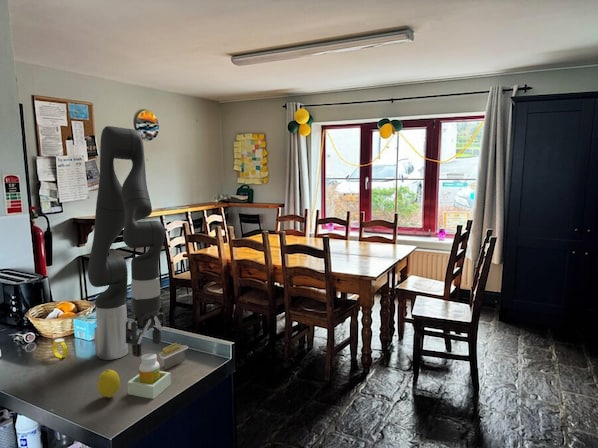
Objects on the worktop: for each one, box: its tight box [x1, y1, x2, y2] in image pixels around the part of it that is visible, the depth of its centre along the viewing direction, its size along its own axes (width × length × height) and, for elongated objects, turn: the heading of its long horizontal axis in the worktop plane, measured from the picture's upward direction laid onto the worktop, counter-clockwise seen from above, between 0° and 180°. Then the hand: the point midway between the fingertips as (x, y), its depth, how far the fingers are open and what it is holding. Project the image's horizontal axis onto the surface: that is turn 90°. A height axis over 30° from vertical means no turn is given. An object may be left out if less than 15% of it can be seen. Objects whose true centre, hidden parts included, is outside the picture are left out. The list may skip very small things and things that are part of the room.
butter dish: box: [158, 342, 189, 371], centre depth 131 cm, size 12×18×7 cm, turn 147°
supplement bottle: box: [138, 352, 161, 385], centre depth 115 cm, size 5×5×10 cm
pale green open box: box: [126, 370, 172, 400], centre depth 116 cm, size 8×8×4 cm
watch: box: [51, 338, 69, 360], centre depth 135 cm, size 6×3×6 cm, turn 64°
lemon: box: [96, 368, 121, 399], centre depth 111 cm, size 6×6×8 cm
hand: (147, 349), depth 115 cm, fingers open, 8 cm apart
